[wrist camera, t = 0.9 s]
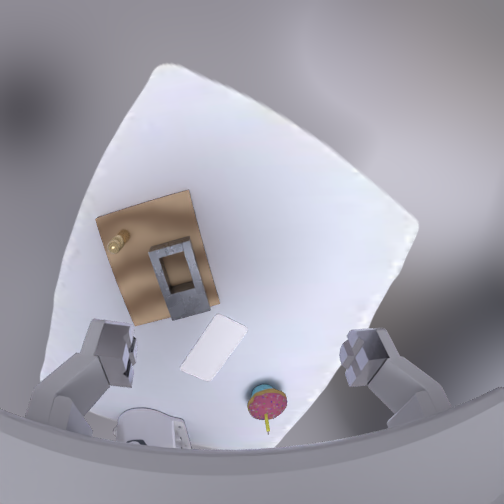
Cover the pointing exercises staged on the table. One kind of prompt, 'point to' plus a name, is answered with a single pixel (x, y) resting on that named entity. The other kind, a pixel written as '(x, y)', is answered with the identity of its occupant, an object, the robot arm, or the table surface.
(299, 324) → the table surface
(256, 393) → the cupcake
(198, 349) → the smartphone
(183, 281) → the oak board
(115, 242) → the post
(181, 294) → the steel link
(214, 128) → the table surface
